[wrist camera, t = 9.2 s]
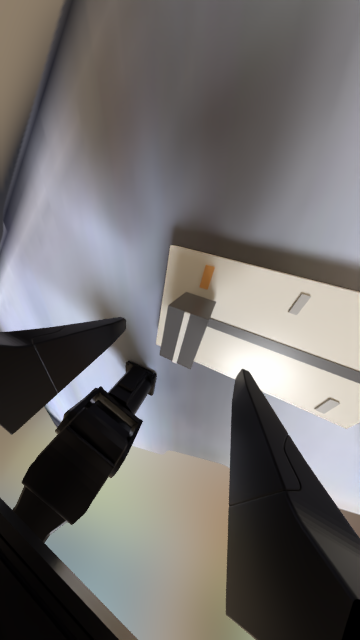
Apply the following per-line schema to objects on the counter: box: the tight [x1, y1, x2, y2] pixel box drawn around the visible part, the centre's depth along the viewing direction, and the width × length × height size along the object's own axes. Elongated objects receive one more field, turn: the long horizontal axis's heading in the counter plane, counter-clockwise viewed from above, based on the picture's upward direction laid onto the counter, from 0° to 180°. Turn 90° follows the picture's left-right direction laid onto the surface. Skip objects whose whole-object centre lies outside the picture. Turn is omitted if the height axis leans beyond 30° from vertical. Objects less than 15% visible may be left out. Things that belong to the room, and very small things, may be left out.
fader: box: [160, 292, 216, 369], centre depth 12 cm, size 5×3×4 cm, turn 167°
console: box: [156, 245, 360, 429], centre depth 13 cm, size 12×22×2 cm, turn 77°
